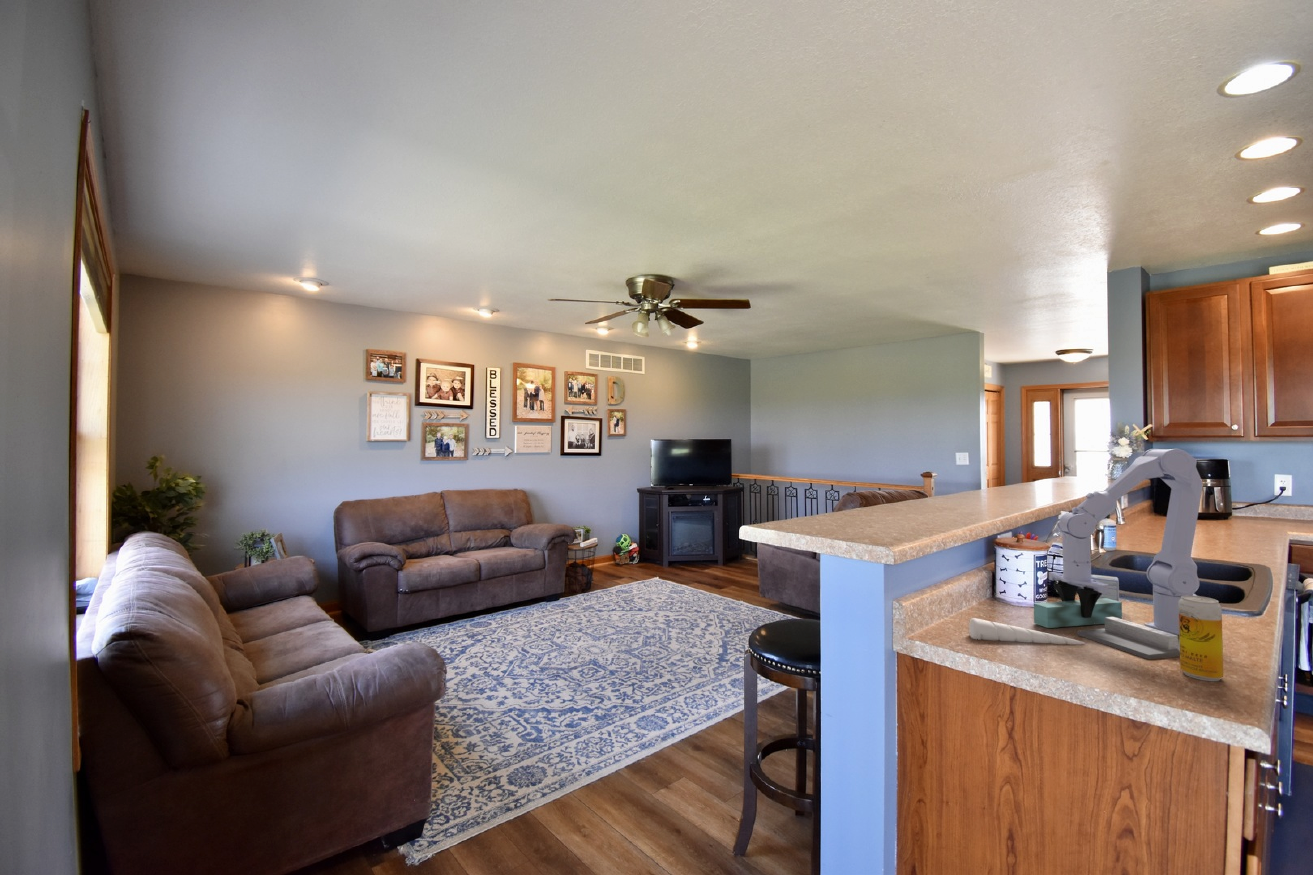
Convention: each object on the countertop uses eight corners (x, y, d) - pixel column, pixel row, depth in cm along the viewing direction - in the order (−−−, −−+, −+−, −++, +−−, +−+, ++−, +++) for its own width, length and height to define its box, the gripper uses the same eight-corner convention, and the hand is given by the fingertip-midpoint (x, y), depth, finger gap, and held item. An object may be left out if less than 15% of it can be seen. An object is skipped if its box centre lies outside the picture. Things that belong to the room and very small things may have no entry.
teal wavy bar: (1106, 617, 147) (1106, 598, 147) (1122, 622, 143) (1121, 602, 143) (1034, 623, 143) (1033, 603, 143) (1047, 627, 139) (1047, 607, 139)
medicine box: (1119, 608, 156) (1118, 577, 156) (1119, 612, 152) (1118, 580, 153) (1083, 603, 161) (1082, 573, 161) (1082, 607, 157) (1082, 576, 157)
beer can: (1171, 670, 113) (1169, 595, 113) (1199, 669, 114) (1197, 594, 114) (1203, 683, 107) (1201, 603, 107) (1232, 681, 107) (1230, 602, 108)
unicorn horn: (1093, 651, 124) (1093, 629, 125) (972, 642, 132) (972, 621, 132) (1084, 644, 129) (1084, 623, 129) (968, 635, 136) (967, 615, 136)
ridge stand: (1131, 629, 138) (1131, 613, 138) (1208, 653, 122) (1207, 634, 122) (1077, 634, 134) (1077, 618, 135) (1148, 659, 119) (1148, 640, 119)
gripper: (1038, 556, 150) (1039, 607, 149) (1091, 567, 135) (1092, 624, 135) (1060, 554, 151) (1062, 605, 151) (1115, 565, 137) (1116, 622, 137)
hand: (1078, 614), depth 143 cm, fingers closed on teal wavy bar, 4 cm apart
